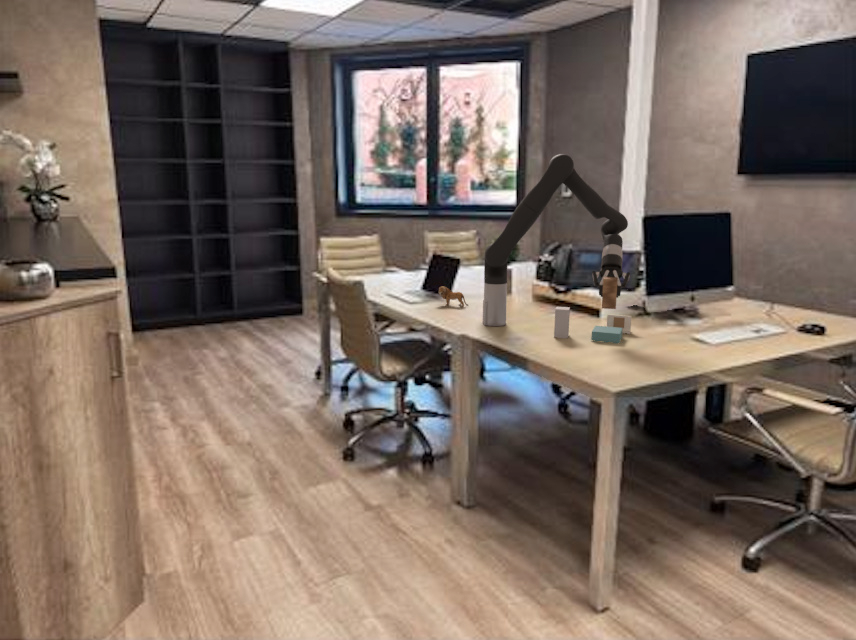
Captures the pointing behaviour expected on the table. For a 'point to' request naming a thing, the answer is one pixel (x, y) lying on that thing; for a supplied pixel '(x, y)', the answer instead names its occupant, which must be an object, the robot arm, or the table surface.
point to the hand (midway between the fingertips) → (609, 295)
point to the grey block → (561, 322)
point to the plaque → (620, 322)
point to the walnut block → (609, 292)
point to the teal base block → (607, 334)
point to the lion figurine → (451, 295)
